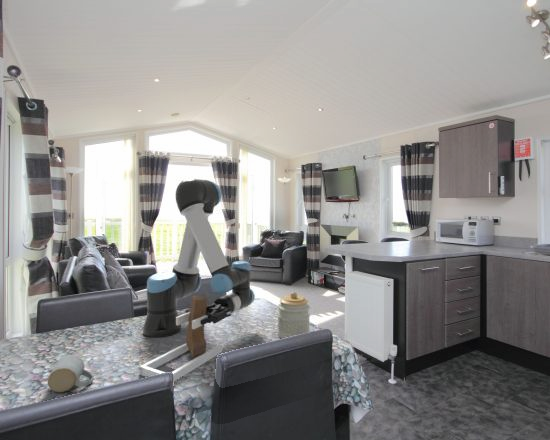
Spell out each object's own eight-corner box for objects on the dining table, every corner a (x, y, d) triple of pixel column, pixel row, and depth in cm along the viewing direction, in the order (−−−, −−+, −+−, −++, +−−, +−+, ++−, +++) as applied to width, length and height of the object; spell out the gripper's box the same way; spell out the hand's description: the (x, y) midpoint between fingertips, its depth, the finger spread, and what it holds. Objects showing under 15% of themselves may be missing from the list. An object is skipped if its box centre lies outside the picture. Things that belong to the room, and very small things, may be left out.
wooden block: (205, 355, 111) (211, 304, 108) (192, 357, 108) (198, 305, 106) (198, 342, 118) (204, 294, 116) (185, 343, 116) (191, 295, 114)
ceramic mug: (46, 396, 89) (45, 368, 89) (55, 381, 97) (55, 355, 96) (90, 390, 92) (90, 363, 92) (95, 376, 100) (95, 351, 100)
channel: (139, 374, 101) (139, 366, 101) (195, 344, 123) (195, 338, 123) (168, 385, 95) (168, 376, 95) (222, 351, 117) (222, 344, 117)
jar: (300, 344, 123) (300, 298, 122) (271, 337, 130) (271, 293, 129) (315, 333, 134) (315, 290, 133) (287, 327, 141) (287, 286, 140)
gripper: (247, 318, 125) (207, 340, 104) (207, 310, 134) (163, 328, 114) (247, 299, 124) (207, 316, 104) (207, 292, 134) (163, 307, 113)
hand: (184, 323), depth 109 cm, fingers closed on wooden block, 6 cm apart
